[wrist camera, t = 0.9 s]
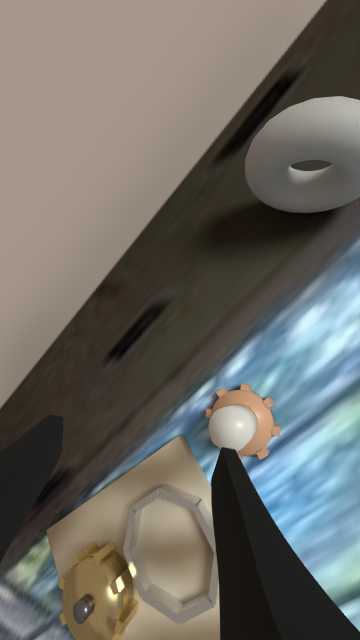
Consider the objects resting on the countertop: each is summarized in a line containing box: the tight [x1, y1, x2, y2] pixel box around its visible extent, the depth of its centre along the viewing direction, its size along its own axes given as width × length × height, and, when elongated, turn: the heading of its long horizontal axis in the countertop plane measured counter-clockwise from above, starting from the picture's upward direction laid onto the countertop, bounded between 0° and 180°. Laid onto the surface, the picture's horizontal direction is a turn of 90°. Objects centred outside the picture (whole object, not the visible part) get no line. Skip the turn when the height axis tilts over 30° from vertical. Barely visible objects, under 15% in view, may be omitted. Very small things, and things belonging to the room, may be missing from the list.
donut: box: [245, 96, 360, 213], centre depth 20 cm, size 10×3×10 cm, turn 77°
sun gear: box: [58, 541, 139, 640], centre depth 23 cm, size 7×7×3 cm
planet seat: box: [123, 484, 219, 624], centre depth 22 cm, size 9×9×1 cm
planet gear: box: [205, 384, 281, 460], centre depth 21 cm, size 6×6×5 cm
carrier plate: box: [46, 434, 220, 640], centre depth 24 cm, size 14×19×1 cm
